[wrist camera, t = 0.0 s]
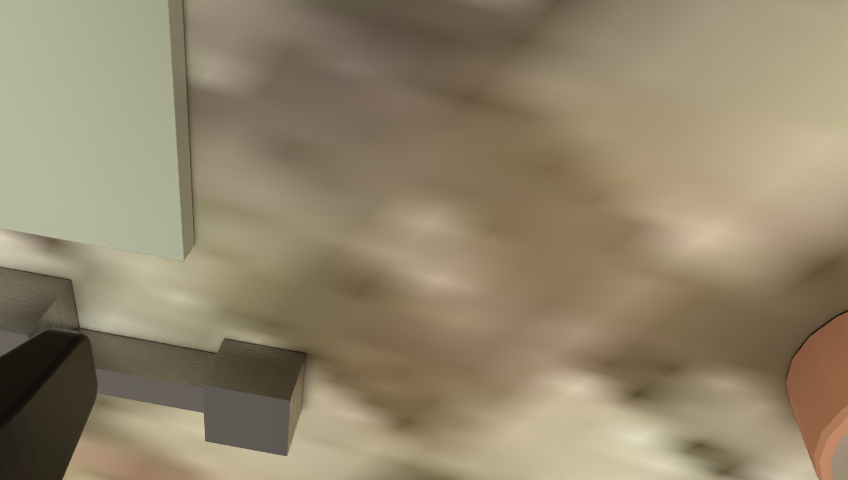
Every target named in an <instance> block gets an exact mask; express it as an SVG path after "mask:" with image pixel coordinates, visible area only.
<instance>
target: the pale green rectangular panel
mask: <svg viewBox="0 0 848 480" xmlns="http://www.w3.org/2000/svg"><path fill="white" fill-rule="evenodd" d="M0 228H3V229H8V230H14V231H19V232H25V233H30V234H36V235H41V236H47V237H52V238H58V239H63V240H69V241H74V242H80V243H85V244H91V245H96V246H101V247H107V248H112V249H118V250H123V251H129V252H134V253H140V254H145V255H151V256H156V257H162V258H167V259H173V260H178V261H184V260H185V259H186V257H187V255H188V254H189V252H190V250H191V249H192V247H193V246H194V229H193V208H192V188H191V168H190V147H189V127H188V107H187V86H186V66H185V46H184V25H183V5H182V0H0Z"/></svg>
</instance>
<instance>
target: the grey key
mask: <svg viewBox="0 0 848 480" xmlns="http://www.w3.org/2000/svg"><path fill="white" fill-rule="evenodd" d="M49 328H59V329H65V330H70V331H76V332H81V333H84V334H86V335H87V336H88V338H89V339H90V342H91V346H92V352H93V358H94V364H95V370H96V376H97V383H98V388H97V393H99V394H104V395H110V396H115V397H121V398H126V399H131V400H137V401H142V402H148V403H153V404H159V405H164V406H170V407H175V408H181V409H186V410H191V411H197V412H202V413H204V423H205V441H207V442H212V443H218V444H223V445H229V446H234V447H240V448H245V449H251V450H256V451H261V452H267V453H272V454H278V455H283V456H287V455H288V452H289V449H290V445H291V442H292V439H293V436H294V433H295V429H296V426H297V423H298V420H299V417H300V414H301V410H302V402H303V388H304V374H305V360H306V354H304V353H299V352H293V351H288V350H282V349H277V348H271V347H266V346H260V345H255V344H250V343H244V342H239V341H233V340H228V339H224V340H223V343H222V345H221V347H220V349H219V351H218V353H217V354H215V353H210V352H204V351H199V350H193V349H188V348H182V347H177V346H171V345H166V344H160V343H155V342H150V341H144V340H139V339H133V338H128V337H122V336H117V335H111V334H106V333H100V332H95V331H89V330H84V329H79V324H78V318H77V313H76V307H75V301H74V296H73V290H72V285H71V280H66V279H61V278H56V277H50V276H45V275H39V274H34V273H28V272H23V271H17V270H12V269H6V268H1V267H0V355H3V354H4V353H6V352H8V351H9V350H11V349H13V348H14V347H16V346H18V345H20V344H21V343H23V342H25V341H26V340H28V339H30V338H31V337H33V336H35V335H36V334H38V333H40V332H42V331H44V330H46V329H49Z"/></svg>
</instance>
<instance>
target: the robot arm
mask: <svg viewBox="0 0 848 480" xmlns="http://www.w3.org/2000/svg"><path fill="white" fill-rule="evenodd" d="M97 388H98V383H97V376H96V370H95V364H94V358H93V352H92V346H91V342H90V339H89V338H88V336H87V335H86V334H84V333H81V332H76V331H70V330H65V329H59V328H49V329H46V330H44V331H42V332H40V333H38V334H36V335H35V336H33V337H31V338H30V339H28V340H26V341H25V342H23V343H21V344H20V345H18V346H16V347H14V348H13V349H11V350H9V351H8V352H6V353H4V354H3V355H1V356H0V480H62V479H63V477H64V475H65V472H66V470H67V467H68V465H69V463H70V460H71V458H72V455H73V453H74V451H75V448H76V446H77V444H78V441H79V439H80V436H81V434H82V432H83V429H84V427H85V424H86V422H87V420H88V417H89V415H90V413H91V410H92V408H93V405H94V403H95V399H96V395H97Z"/></svg>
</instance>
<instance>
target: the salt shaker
mask: <svg viewBox="0 0 848 480" xmlns="http://www.w3.org/2000/svg"><path fill="white" fill-rule="evenodd" d="M786 386H787V391H788V396H789V401H790V405H791V407H792V410H793V413H794V415H795V418H796V421H797V424H798V426H799V429H800V432H801V434H802V437H803V440H804V442H805V445H806V448H807V450H808V453H809V456H810V458H811V461H812V464H813V467H814V469H815V472H816V475H817V477H818V478H819V480H848V312H847V313H844V314H842V315H840V316H837V317H836V318H835V319H833V320H832V321H830V322H829V323H828V324H826V325H825V326H824V327H822V328H821V329H819V330H818V331H817V332H815V333H814V334H813V335H811V336H810V337H809V338H808V340H807V341H806V342H805V343H804V345H803V346H802V347H801V349H800V350H799V351H798V352H797V354H796V355H795V356H794V358H793V359H792V362H791V365H790V369H789V372H788V376H787V379H786Z"/></svg>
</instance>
